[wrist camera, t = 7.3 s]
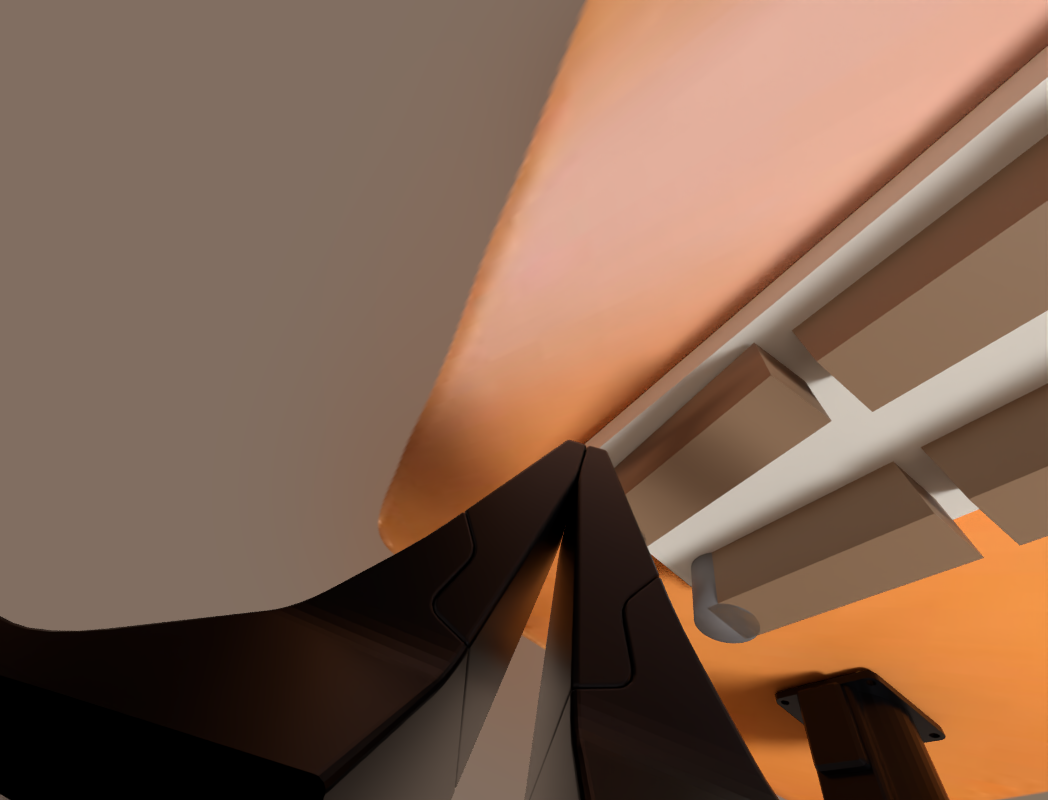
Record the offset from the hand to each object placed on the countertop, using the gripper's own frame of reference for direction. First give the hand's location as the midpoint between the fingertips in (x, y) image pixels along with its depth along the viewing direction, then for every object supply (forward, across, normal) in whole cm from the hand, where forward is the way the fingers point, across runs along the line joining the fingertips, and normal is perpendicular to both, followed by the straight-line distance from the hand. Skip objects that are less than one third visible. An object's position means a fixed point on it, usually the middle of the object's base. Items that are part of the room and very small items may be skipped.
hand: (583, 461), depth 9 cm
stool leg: (+10, -4, +5) cm, 12 cm away
